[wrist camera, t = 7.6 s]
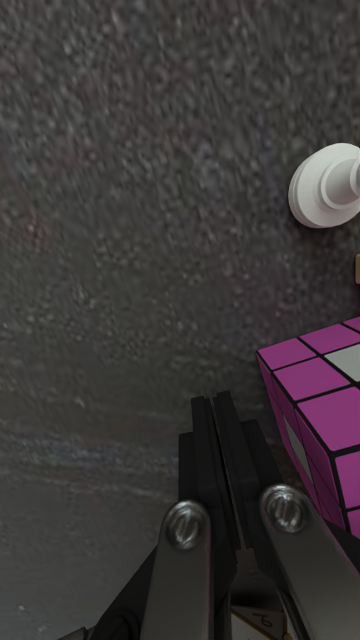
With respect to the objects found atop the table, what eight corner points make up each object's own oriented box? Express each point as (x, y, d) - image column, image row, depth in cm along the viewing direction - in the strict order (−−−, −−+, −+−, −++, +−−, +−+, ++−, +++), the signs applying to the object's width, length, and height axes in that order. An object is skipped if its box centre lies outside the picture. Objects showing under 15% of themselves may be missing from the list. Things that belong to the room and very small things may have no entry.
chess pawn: (275, 178, 9) (334, 140, 6) (342, 134, 8) (449, 65, 5) (303, 241, 10) (369, 241, 6) (366, 204, 9) (474, 182, 6)
